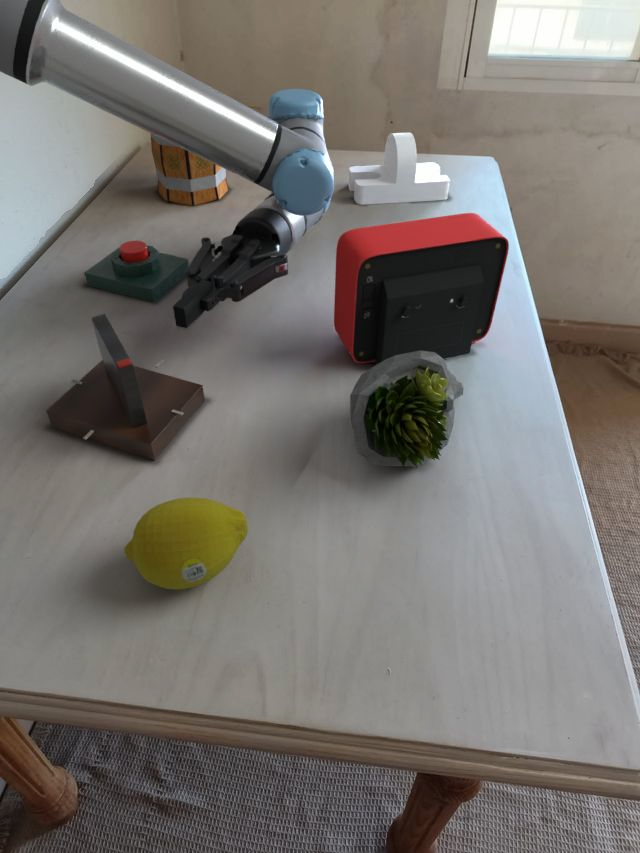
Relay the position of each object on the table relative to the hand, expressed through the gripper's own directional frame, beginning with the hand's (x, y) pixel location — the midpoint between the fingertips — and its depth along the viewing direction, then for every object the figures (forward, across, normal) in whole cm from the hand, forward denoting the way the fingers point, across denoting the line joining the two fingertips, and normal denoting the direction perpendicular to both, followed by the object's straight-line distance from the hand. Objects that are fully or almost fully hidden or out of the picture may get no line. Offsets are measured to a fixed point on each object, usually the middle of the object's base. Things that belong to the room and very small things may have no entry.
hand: (180, 317), depth 72 cm
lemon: (+24, +15, +10) cm, 30 cm away
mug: (-54, -32, +10) cm, 63 cm away
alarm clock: (-19, +24, +10) cm, 32 cm away
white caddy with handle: (-67, +6, +10) cm, 68 cm away
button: (-19, -21, +6) cm, 29 cm away
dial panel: (+8, -3, +10) cm, 13 cm away
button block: (-19, -20, +10) cm, 30 cm away
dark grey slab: (+8, -3, +7) cm, 11 cm away
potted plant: (+1, +29, +10) cm, 30 cm away
